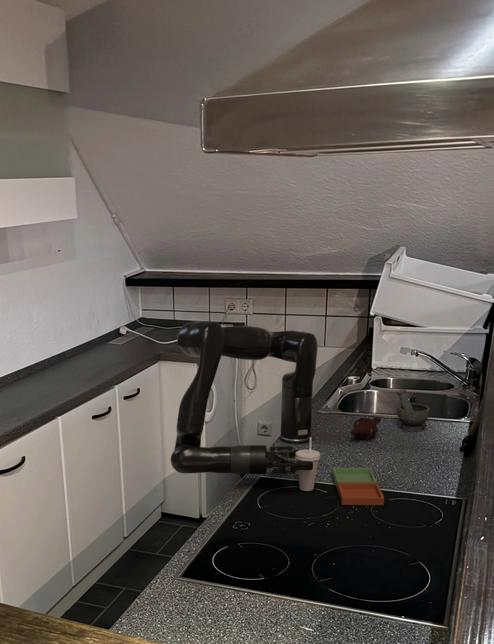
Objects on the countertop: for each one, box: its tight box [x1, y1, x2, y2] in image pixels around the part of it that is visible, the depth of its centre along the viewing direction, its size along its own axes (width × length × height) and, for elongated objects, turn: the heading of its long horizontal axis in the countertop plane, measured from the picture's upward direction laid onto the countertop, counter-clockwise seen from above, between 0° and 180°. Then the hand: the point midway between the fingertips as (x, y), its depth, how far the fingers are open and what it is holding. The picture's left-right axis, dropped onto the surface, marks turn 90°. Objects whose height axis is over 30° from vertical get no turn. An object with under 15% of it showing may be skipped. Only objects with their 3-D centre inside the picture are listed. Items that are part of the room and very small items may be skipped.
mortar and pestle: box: [396, 388, 431, 432], centre depth 242 cm, size 11×9×12 cm
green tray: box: [331, 467, 378, 489], centre depth 203 cm, size 10×10×2 cm
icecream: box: [350, 416, 382, 441], centre depth 234 cm, size 7×7×15 cm
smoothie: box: [295, 436, 321, 492], centre depth 197 cm, size 6×6×14 cm
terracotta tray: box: [336, 482, 385, 506], centre depth 192 cm, size 10×10×2 cm
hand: (311, 459), depth 196 cm, fingers open, 8 cm apart
